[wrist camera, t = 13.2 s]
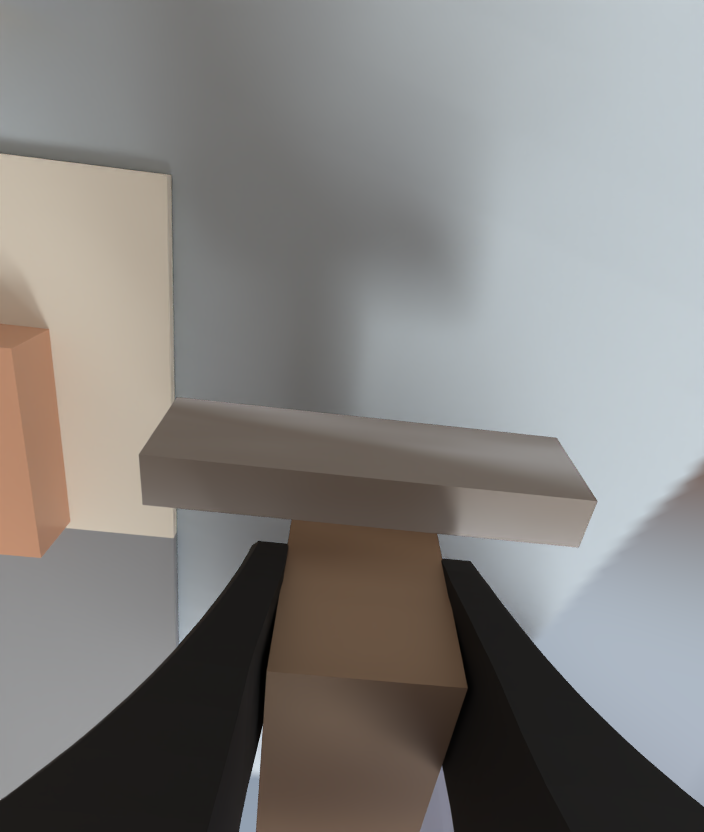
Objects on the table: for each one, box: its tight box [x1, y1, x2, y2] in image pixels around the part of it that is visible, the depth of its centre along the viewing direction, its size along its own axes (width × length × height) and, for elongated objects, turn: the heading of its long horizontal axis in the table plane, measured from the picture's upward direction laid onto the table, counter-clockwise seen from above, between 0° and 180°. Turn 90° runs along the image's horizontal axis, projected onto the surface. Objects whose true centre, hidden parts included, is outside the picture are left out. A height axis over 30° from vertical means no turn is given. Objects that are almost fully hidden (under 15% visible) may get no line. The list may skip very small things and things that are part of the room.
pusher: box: [139, 397, 597, 832], centre depth 12 cm, size 7×9×6 cm
